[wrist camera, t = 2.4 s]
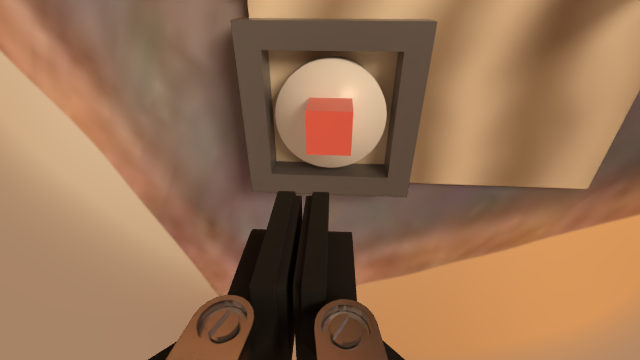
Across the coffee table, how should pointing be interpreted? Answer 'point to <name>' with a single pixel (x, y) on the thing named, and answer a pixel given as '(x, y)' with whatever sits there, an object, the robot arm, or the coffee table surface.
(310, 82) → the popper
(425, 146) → the board
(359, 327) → the robot arm
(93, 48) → the coffee table surface
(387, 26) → the frame
